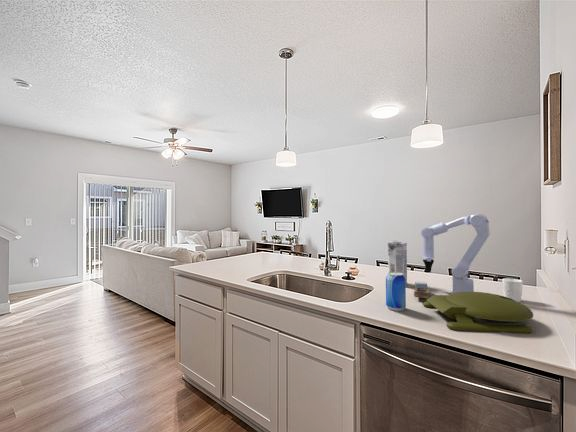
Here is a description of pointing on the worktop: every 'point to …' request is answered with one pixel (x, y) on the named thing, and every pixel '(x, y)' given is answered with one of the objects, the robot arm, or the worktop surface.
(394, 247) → the juice carton
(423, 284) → the block
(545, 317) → the worktop surface
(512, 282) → the white cup
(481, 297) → the spaceship
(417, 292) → the wooden tray
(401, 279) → the beer can
